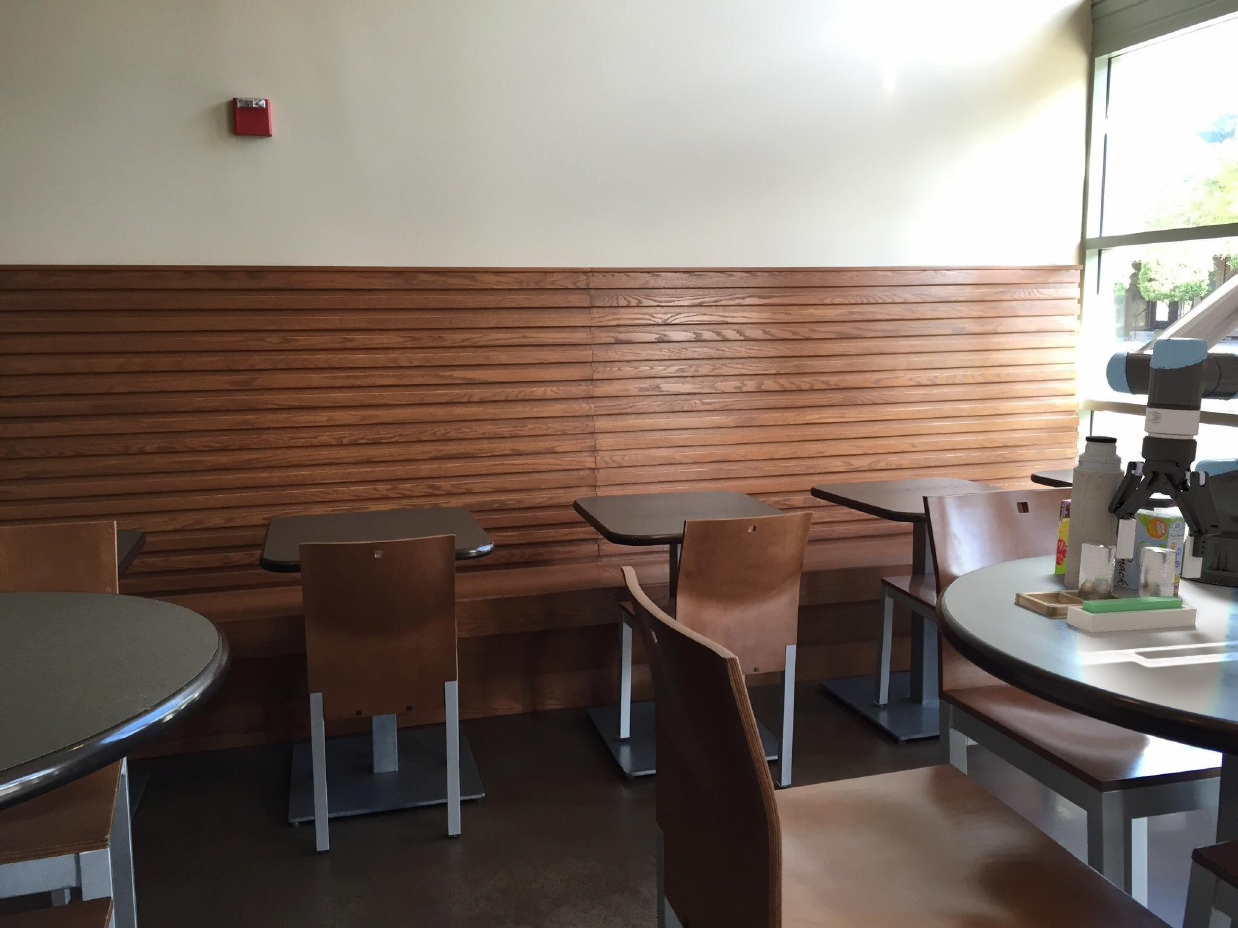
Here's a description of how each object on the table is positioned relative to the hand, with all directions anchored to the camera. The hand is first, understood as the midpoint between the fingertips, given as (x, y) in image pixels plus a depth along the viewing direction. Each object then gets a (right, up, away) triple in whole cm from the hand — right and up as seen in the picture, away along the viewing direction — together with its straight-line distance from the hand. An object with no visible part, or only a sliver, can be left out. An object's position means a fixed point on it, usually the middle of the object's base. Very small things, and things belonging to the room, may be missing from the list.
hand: (1156, 567), depth 156 cm
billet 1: (-9, -6, +2) cm, 11 cm away
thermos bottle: (-4, -7, +15) cm, 16 cm away
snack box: (+3, -6, +20) cm, 21 cm away
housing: (-9, -9, -8) cm, 15 cm away
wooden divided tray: (-13, -8, +1) cm, 15 cm away
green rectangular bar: (-9, -8, -8) cm, 14 cm away
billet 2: (0, -7, +1) cm, 7 cm away
